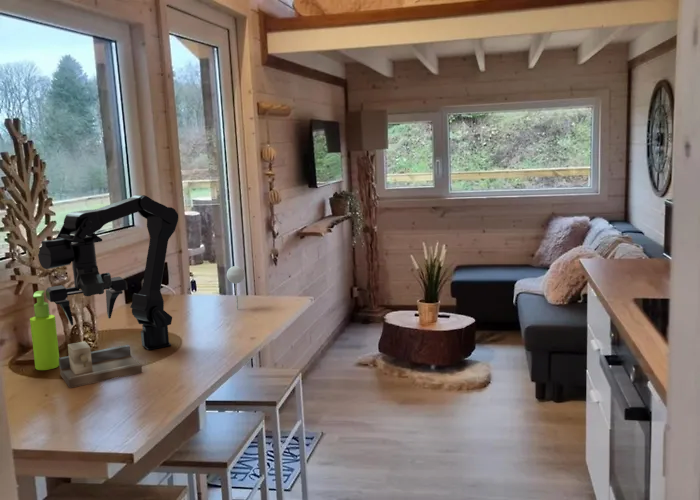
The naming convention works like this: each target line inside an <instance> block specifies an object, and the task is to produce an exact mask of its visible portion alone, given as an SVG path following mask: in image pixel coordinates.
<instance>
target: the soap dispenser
mask: <svg viewBox="0 0 700 500" xmlns="http://www.w3.org/2000/svg"><path fill="white" fill-rule="evenodd" d="M44 294H46V289H45V290H37V291H35V292H34V293H33V296H32V297H33V299H36V303H34V304H33V309H34V316H32V317H30V318H29V323H30V333H31V334H30V335H31V341H32V342H31V343H32V350H33V359H34V369H36V371H49V370H52V369H55V368H58V367H60V365H59V358H60V352H59V342H58V333H57V323H56V316H55V314H50V307H49V303H48V302H46V301H45V295H44Z"/></svg>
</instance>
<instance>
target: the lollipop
mask: <svg viewBox="0 0 700 500" xmlns="http://www.w3.org/2000/svg"><path fill="white" fill-rule="evenodd" d="M244 278H245V272H244V270H243V268H241V266H237V265H234V266H231V267H230V268H228V269H227V272H226V279H227V280H228V281H229V282H230V283H232V284H234V285H235V299H236V300H235V301H236V302H235V304H236V310H237V311H238V310H239V302H238V301H239V300H238V297H239V296H238V284H240V283H241V282H243V280H244Z"/></svg>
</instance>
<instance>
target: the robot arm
mask: <svg viewBox="0 0 700 500" xmlns="http://www.w3.org/2000/svg"><path fill="white" fill-rule="evenodd" d="M135 213H138V214H139V215H140V216H141V217H142V218H144V219H146V229H147V231H148V234H149V243H148V250H147V255H146V261H145V269H144V272H143V273H144V274H143V280H142V286H141V288H140V290H139V291H138V293H135V292H133V294H132V296H131V297H132V298H131V299H132V301H131V304H130V307H129V308H131V314H132V315H133V317H134V319H136V321H137V324H139V325H141V326H142V330H141V331H140V337H141V339H140V340H141V346H143V347H144V348H145V349H147V350H148V351H152V350H156V349H161V348H166V347H170V346H172V343H170V341H169V340H170V338H169V327H168V326H170V325H171V324H172V321H173V316H172V315H170V314H169V313H168V312H167V311H165V310H164V308H165V307H164V305H165V301H164V297H163V295H162V292H161V290H162V289H161V287H162V282H163V275H164V269H165V262H166V256H167V250H168V244H169V240H170V238H171V237H172V236H173V234H174V233H175V231H176V228H177V226H178V223H179V222H178V221H179V213H178V211H177V210H176V209H175V208H173V207H171V206H166V205H164V204H162V203H161V202H158V201H156V200H154V199H153V198H151V197H149V196H148V195H144V194H143V195H142V194H135V195H134V194H133V195H132V196H131V197H128V198H124V199H123V200H119V201H116V202H114V203H110V204H107V205H105V206H102V207H99V208H96V209H85V210H76V211H71V212H68V213H67V214H66V215H65V217H64V219H63V224H62V227H61V228H60V231H59V232H58V233H57V235H56V237H55V239H51V240H48V239H47V240H46V239H45V240H41V246H40V248H39V250H38V254H37V257H38V262H39V264H40V266H41V267H42V268H43V270H44V269H45V270H49V269H55V268H59V267H65V266H69V265H71V267H72V272H73V273H72V274H73V285H74V286H72V287H65V286H64V285H63V284H62V285H61V284H60V285H54V286H48V287H47V288H46V289H45V297H46V299H47V300H48V301H49V302H50V303H54V304H56V305H59V307H60V308H62V310H63V312H64V314H65V316H66V318H67V320H68V322H69V324H70V325H71V326H74V318H73V313H72V309H71V307H70V306H71V305H70V300H69V299H68V296H73V295H80V294H83V296H85V297H92V296H94V295H103V294H104V293H105V300H106V301H105V302H106V313H107V318H108V319H109V320H110V319H111V318H112V315H113V310H114V306H115V303H116V301H117V298H118V297H119V296H120V295H122V294H123V292H124V291H127V290H128V289H129V288H128V282H127V280H126V279H125V278H123V277H121V276H114V277H112V276H111V273H110V272H104V273H100V271H99V268H98V264H97V263H98V262H97V255H96V246H95V243H101V242H103V238H101V237H99V236H98V235H97V234H96V232H98V231H100V230H102V228H103V227H104V226H105V225H107V224H109V223H112V222H114V221H117V220H120V219H122V218H125V217H128V216H130V215H133V214H135Z"/></svg>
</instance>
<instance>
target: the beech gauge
mask: <svg viewBox="0 0 700 500" xmlns="http://www.w3.org/2000/svg"><path fill="white" fill-rule="evenodd" d="M67 352H68V356H69V362H70V368H71V370H72V371H73V372H74V373H75V374H79V373H84V372H89V371H93V370H92V360H91V352H92V351H91V346H90V345H89V344H88V343H87V342H86V341H79V342H73V343H68V344H67Z"/></svg>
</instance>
